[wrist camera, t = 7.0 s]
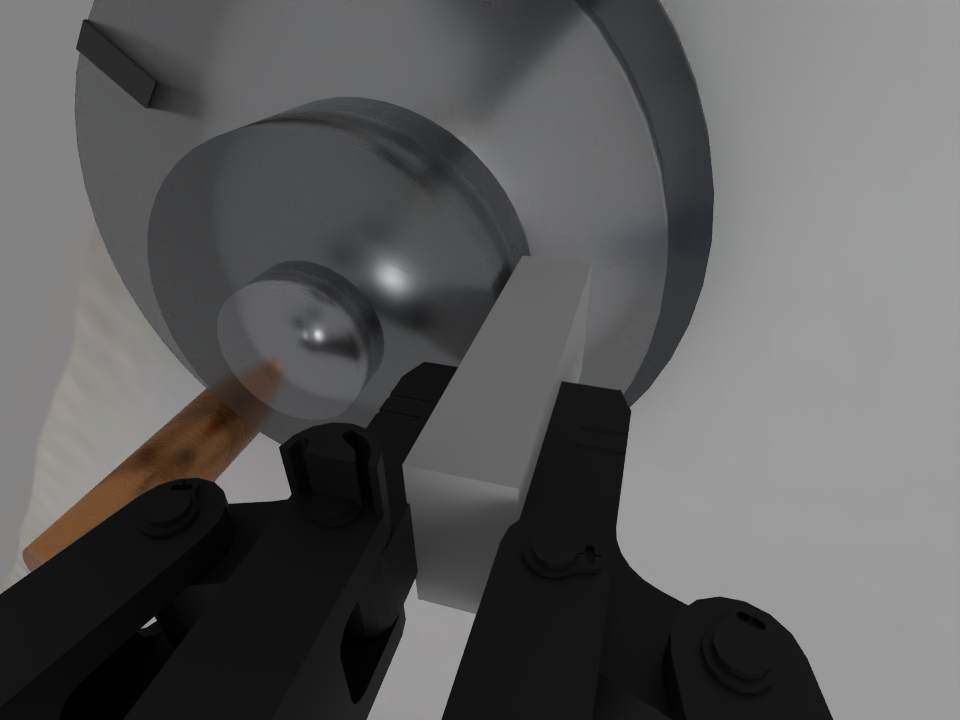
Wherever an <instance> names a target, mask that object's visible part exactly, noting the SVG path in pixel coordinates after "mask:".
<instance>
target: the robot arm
mask: <svg viewBox="0 0 960 720" xmlns="http://www.w3.org/2000/svg"><path fill="white" fill-rule="evenodd" d="M591 270H592V263H588V262H579V261H569V260H560V259H550V258H541V257H531V256H522V257H521V259H520V261H519V262H518V264H517V266H516V268H515V269H514V271H513V273H512V275H511V276H510V278H509V280H508V282H507V283H506V285H505V287H504V289H503V290H502V292H501V294H500V296H499V297H498V299H497V301H496V303H495V304H494V306H493V308H492V309H491V311H490V313H489V315H488V316H487V318H486V320H485V322H484V323H483V325H482V327H481V329H480V330H479V332H478V334H477V336H476V337H475V339H474V341H473V343H472V344H471V346H470V348H469V350H468V351H467V353H466V355H465V357H464V358H463V360H462V362H461V364H460V365H459V367H456V366H449V365H443V364H437V363H430V362H423V363H421V364H420V365H418V366H417V367H415V368H414V369H412V370H411V371H409V372H408V373H406V374H405V375H403V376H402V377H401V379H400V380H399V382H398V383H397V385H396V386H395V387H394V389H393V390H392V392H391V393H390V397H389V398H387V399H386V400H385V402H384V403H383V405H382V406H381V408H380V409H379V413H376V415H375V416H374V418H373V419H372V420H371V422H370V423H369V425H368V426H367V428H363V427H360V426H358V425H355V424H352V423H335V422H332V423H327V424H322V425H317V426H312V427H310V428H308V429H305V430H303V431H301V432H299V433H297V434H295V435H293V436H292V437H291V438H289V439H288V440H287V441H286V442H285V443H284V444H282V445H281V446H280V447H279V449H280V453H281V457H282V460H283V464H284V468H285V471H286V475H287V479H288V482H289V486H290V490H291V493H292V495H291V496H290V497H289V499H287V500H280V501H272V502H254V503H236V504H228V502H227V499H226V496H225V494H224V491H223V490H222V489H221V488H220V487H219V486H218V485H217V484H216V483H215V482H212V481H209V480H205V479H202V478H183V479H177V480H173V481H170V482H167V483H163V484H160V485H158V486H156V487H154V488H152V489H150V490H149V491H147V492H145V493H143V494H141V495H140V496H138V497H137V498H135V499H134V500H132V501H131V502H130V503H128V504H127V505H125V506H124V507H123V508H121V509H120V510H118V511H117V512H116V513H114V514H113V515H111V516H110V517H109V518H107V519H106V520H104V521H103V522H101V523H100V524H99V525H97V526H96V527H94V528H93V529H92V530H90V531H89V532H87V533H86V534H85V535H83V536H82V537H80V538H79V539H78V540H76V541H75V542H73V543H72V544H71V545H69V546H68V547H66V548H65V549H63V550H62V551H61V552H59V553H58V554H56V555H55V556H54V557H52V558H51V559H49V560H48V561H47V562H45V563H44V564H42V565H41V566H40V567H38V568H37V569H35V570H34V571H33V572H31V573H30V574H28V575H27V576H25V577H24V578H23V579H21V580H20V581H18V582H17V583H16V584H14V585H13V586H11V587H10V588H9V589H7V590H6V591H4V592H3V593H2V594H0V720H366V719H367V717H368V715H369V712H370V710H371V708H372V705H373V703H374V701H375V698H376V696H377V694H378V691H379V689H380V686H381V684H382V682H383V679H384V677H385V675H386V672H387V670H388V668H389V665H390V663H391V661H392V658H393V656H394V654H395V651H396V649H397V647H398V644H399V642H400V639H401V637H402V634H403V630H404V625H405V620H406V618H405V611H404V602H405V600H406V598H407V596H408V593H409V591H410V589H411V587H412V584H413V582H414V580H415V578H416V585H417V593H418V599H421V600H425V601H429V602H433V603H436V604H440V605H444V606H448V607H452V608H455V609H459V610H463V611H467V612H471V613H475V614H476V617H475V620H474V623H473V626H472V629H471V632H470V635H469V638H468V641H467V644H466V647H465V650H464V653H463V656H462V659H461V662H460V665H459V668H458V671H457V674H456V677H455V680H454V683H453V686H452V689H451V692H450V696H449V699H448V702H447V705H446V708H445V711H444V714H443V717H442V720H833V718H832V716H831V714H830V711H829V709H828V706H827V704H826V702H825V699H824V697H823V695H822V692H821V690H820V688H819V685H818V683H817V680H816V678H815V676H814V673H813V671H812V669H811V666H810V664H809V662H808V659H807V657H806V656H805V654H804V653H803V651H802V649H801V648H800V646H799V645H798V643H797V641H796V640H795V638H794V637H793V635H792V634H791V633H790V632H789V631H788V630H787V629H786V628H785V627H783V626H782V625H781V624H780V623H779V622H778V621H777V620H776V619H775V618H773V617H772V616H771V615H770V614H768V613H766V612H764V611H762V610H760V609H758V608H756V607H755V606H753V605H751V604H749V603H747V602H745V601H740V600H734V599H729V598H724V597H713V598H706V599H700V600H696V601H695V602H693V603H692V604H690V605H689V606H688V605H686V604H684V603H682V602H680V601H679V600H677V599H675V598H673V597H671V596H669V595H668V594H666V593H664V592H662V591H660V590H658V589H657V588H655V587H654V586H652V585H651V584H649V583H648V582H646V581H645V580H643V579H642V578H641V577H640V576H639V575H638V574H637V573H636V572H635V571H634V570H633V569H632V568H631V567H630V566H629V564H628V563H627V561H626V560H625V558H624V557H623V555H622V554H621V551H620V548H619V545H618V542H617V539H616V524H617V516H618V508H619V501H620V493H621V485H622V478H623V470H624V462H625V454H626V447H627V439H628V432H629V424H630V416H631V410H630V408H629V406H628V404H627V402H626V400H625V398H624V396H623V394H622V392H621V390H615V389H609V388H602V387H596V386H589V385H583V384H578V382H579V379H580V375H581V370H582V360H583V350H584V340H585V330H586V320H587V310H588V300H589V290H590V280H591ZM154 616H155V618H156V620H157V621H156V622H154V623H153V624H151V625H150V626H148V627H147V628H142V627H143V626H144V625H145V624H146V623H147V622H148V621H150V620H151V619H152V618H153V617H154ZM141 628H142V629H141Z"/></svg>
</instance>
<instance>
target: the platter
mask: <svg viewBox="0 0 960 720" xmlns="http://www.w3.org/2000/svg"><path fill="white" fill-rule="evenodd" d="M76 49H77V50H78V51H79V52H80V55H79V60H78V66H77V72H76V94H75V120H76V132H77V144H78V152H79V157H80V162H81V168H82V173H83V178H84V183H85V187H86V191H87V194H88V197H89V201H90V204H91V207H92V211H93V214H94V217H95V221H96V223H97V226H98V228H99V231H100V233H101V235H102V238H103V240H104V243H105V245H106V248H107V250H108V253H109V255H110V257H111V259H112V261H113V263H114V265H115V267H116V269H117V271H118V273H119V275H120V276H121V278H122V280H123V282H124V284H125V286H126V288H127V289H128V291H129V293H130V294H131V296H132V297H133V299H134V301H135V302H136V304H137V305H138V307H139V309H140V310H141V312H142V313H143V315H144V317H145V318H146V319H147V321H148V322H149V323H150V325H151V326H152V327H153V329H154V330H155V331H156V333H157V334H158V335H159V337H160V338H161V339H162V341H163V342H164V343H165V345H166V346H167V347H168V348H169V349H170V350H171V351H172V353H173V354H174V355H175V356H176V357H177V358H178V359H179V361H180V362H181V363H182V364H183V365H184V366H185V367H186V369H187V370H188V371H189V372H191V373H192V374H193V375H194V376H195V377H196V378H197V379H198V380H199V381H200V382H201V383H202V384H203V385H204V386H205V387H206V389H205V390H204V391H203V392H202V393H201V394H200V395H199V396H197V397H196V398H195V399H194V400H193V401H192V402H191V403H189V404H188V405H187V406H186V407H185V408H184V409H183V410H182V411H180V412H179V413H178V414H177V415H176V416H175V417H174V418H172V419H171V420H170V421H169V422H168V423H167V424H166V425H165V426H163V427H162V428H161V429H160V430H159V431H158V432H157V433H155V434H154V435H153V436H152V437H151V438H150V439H149V440H148V441H146V442H145V443H144V444H143V445H142V446H141V447H140V448H139V449H137V450H136V451H135V452H134V453H133V454H132V455H131V456H129V457H128V458H127V459H126V460H125V461H124V462H123V463H122V464H120V465H119V466H118V467H117V468H116V469H115V470H114V471H112V472H111V473H110V474H109V475H108V476H107V477H106V478H105V479H103V480H102V481H101V482H100V483H99V484H98V485H97V486H95V487H94V488H93V489H92V490H91V491H90V492H89V493H88V494H86V495H85V496H84V497H83V498H82V499H81V500H80V501H78V502H77V503H76V504H75V505H74V506H73V507H72V508H71V509H69V510H68V511H67V512H66V513H65V514H64V515H63V516H61V517H60V518H59V519H58V520H57V521H56V522H55V523H54V524H52V525H51V526H50V527H49V528H48V529H47V530H46V531H45V532H43V533H42V534H41V535H40V536H39V537H38V538H37V539H35V540H34V541H33V542H32V543H31V544H30V545H29V546H28V547H26V548H25V549H24V551H23V560H24V562H25V564H26V566H27V567H28V568H29V570H30V571H31V572H33V571H34V570H35V569H37V568H38V567H40V566H41V565H42V564H44V563H45V562H47V561H48V560H49V559H51V558H52V557H54V556H55V555H56V554H58V553H59V552H61V551H62V550H63V549H65V548H66V547H68V546H69V545H71V544H72V543H73V542H75V541H76V540H78V539H79V538H80V537H82V536H83V535H85V534H86V533H87V532H89V531H90V530H92V529H93V528H94V527H96V526H97V525H99V524H100V523H101V522H103V521H104V520H106V519H107V518H109V517H110V516H111V515H113V514H114V513H116V512H117V511H118V510H120V509H121V508H123V507H124V506H125V505H127V504H128V503H130V502H131V501H132V500H134V499H135V498H137V497H138V496H140V495H141V494H143V493H145V492H147V491H149V490H150V489H152V488H154V487H156V486H158V485H160V484H163V483H167V482H170V481H173V480H177V479H183V478H202V479H205V480H209V481H212V482H215V480H216V479H217V478H218V477H219V476H220V475H221V474H222V473H223V472H224V471H225V470H226V468H227V467H228V466H229V465H230V464H231V463H232V462H233V461H234V460H235V459H236V457H237V456H238V455H239V454H240V453H241V452H242V451H243V450H244V449H245V448H246V447H247V445H248V444H249V443H250V442H251V441H252V440H253V439H254V438H255V437H256V436H257V434H258V433H259V432H260V431H258V430H257V429H256V428H254V427H253V426H251V425H250V424H249V423H247V422H246V421H245V420H243V419H242V418H241V417H240V416H239V415H237V414H236V413H235V412H234V411H233V410H231V409H230V408H229V407H228V406H227V405H226V404H225V403H224V402H223V401H222V400H221V399H220V398H219V397H218V396H217V395H216V394H215V393H214V392H213V391H212V390H211V389H210V388H209V387H208V386H207V385H206V383H205V382H204V381H203V380H202V379H201V378H200V377H199V375H198V374H197V373H196V371H195V370H194V369H193V367H192V366H191V365H190V363H189V362H188V361H187V359H186V358H185V356H184V355H183V353H182V351H181V350H180V348H179V347H178V345H177V343H176V342H175V340H174V338H173V336H172V334H171V332H170V330H169V328H168V326H167V324H166V322H165V320H164V318H163V316H162V313H161V310H160V308H159V305H158V302H157V300H156V297H155V293H154V289H153V285H152V281H151V278H150V271H149V264H148V257H147V234H148V226H149V219H150V214H151V210H152V207H153V204H154V200H155V197H156V195H157V193H158V191H159V189H160V187H161V185H162V183H163V181H164V179H165V177H166V176H167V175H168V174H169V172H170V171H171V170H172V168H173V167H174V166H175V165H176V163H177V162H178V161H179V160H180V159H182V158H183V157H184V156H185V155H186V154H187V153H189V152H190V151H191V150H192V149H193V148H195V147H197V146H198V145H200V144H202V143H204V142H206V141H207V140H209V139H211V138H213V137H216V136H218V135H221V134H224V133H227V132H229V131H232V130H235V129H237V128H240V127H243V126H246V125H248V124H251V123H254V122H256V121H259V120H262V119H265V118H267V117H270V116H273V115H276V114H278V113H281V112H284V111H286V110H289V109H292V108H295V107H297V106H300V105H303V104H307V103H310V102H313V101H316V100H321V99H328V98H334V97H362V98H368V99H374V100H380V101H385V102H388V103H391V104H394V105H397V106H400V107H404V108H407V109H409V110H411V111H413V112H415V113H417V114H419V115H422V116H424V117H426V118H428V119H430V120H431V121H433V122H435V123H436V124H438V125H439V126H441V127H442V128H444V129H445V130H447V131H449V132H450V133H452V134H453V135H454V136H455V137H456V138H458V139H459V140H460V141H461V142H462V143H464V144H465V145H466V146H467V147H468V148H470V149H471V150H472V151H473V152H474V153H475V155H476V156H477V157H478V158H479V159H480V160H481V161H482V162H483V163H484V164H485V165H486V166H487V167H488V168H489V170H490V171H491V172H492V174H493V175H494V177H495V178H496V179H497V181H498V182H499V183H500V185H501V186H502V187H503V189H504V190H505V192H506V194H507V196H508V198H509V199H510V201H511V203H512V205H513V207H514V208H515V210H516V212H517V215H518V217H519V220H520V222H521V225H522V227H523V230H524V232H525V236H526V239H527V243H528V247H529V251H530V254H531V257H541V258H550V259H560V260H569V261H579V262H588V263H592V270H591V280H590V290H589V300H588V310H587V320H586V330H585V340H584V350H583V360H582V370H581V375H580V379H579V382H578V384H583V385H589V386H596V387H602V388H609V389H615V390H621V392H622V394H624V393H625V392H626V390H627V389H628V387H629V386H630V384H631V383H632V381H633V379H634V377H635V375H636V373H637V371H638V369H639V367H640V365H641V363H642V361H643V359H644V357H645V355H646V353H647V351H648V349H649V346H650V343H651V339H652V336H653V333H654V330H655V327H656V324H657V320H658V317H659V314H660V309H661V302H662V296H663V290H664V283H665V277H666V269H667V255H668V196H667V189H666V182H665V174H664V167H663V159H662V155H661V152H660V148H659V145H658V141H657V137H656V134H655V130H654V127H653V123H652V120H651V116H650V112H649V110H648V108H647V106H646V103H645V101H644V99H643V96H642V94H641V92H640V89H639V87H638V85H637V82H636V80H635V78H634V76H633V73H632V71H631V69H630V66H629V65H628V63H627V61H626V60H625V58H624V57H623V55H622V53H621V52H620V50H619V48H618V47H617V45H616V43H615V42H614V40H613V38H612V37H611V35H610V33H609V32H608V30H607V29H606V27H605V25H604V24H603V22H602V21H601V19H600V18H599V17H598V16H597V15H596V13H595V12H594V11H593V10H592V8H591V7H590V6H589V5H588V4H587V2H586V1H585V0H95V1H94V3H93V6H92V9H91V12H90V15H89V18H88V20H87V19H86V20H83V24H82V27H81V31H80V35H79V39H78V43H77V47H76Z"/></svg>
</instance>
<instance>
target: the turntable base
mask: <svg viewBox="0 0 960 720" xmlns="http://www.w3.org/2000/svg"><path fill="white" fill-rule="evenodd" d="M585 1H586V2H587V4H588V5H589V6H590V7H591V8H592V10H593V11H594V12H595V13H596V15H597V16H598V17H599V18H600V19H601V21H602V22H603V24H604V25H605V27H606V29H607V30H608V32H609V33H610V35H611V37H612V38H613V40H614V42H615V43H616V45H617V47H618V48H619V50H620V52H621V53H622V55H623V57H624V58H625V60H626V61H627V63H628V65H629V66H630V69H631V71H632V73H633V76H634V78H635V80H636V82H637V85H638V87H639V89H640V92H641V94H642V96H643V99H644V101H645V103H646V106H647V108H648V110H649V112H650V116H651V120H652V123H653V127H654V130H655V134H656V137H657V141H658V145H659V148H660V152H661V155H662V159H663V167H664V174H665V182H666V189H667V196H668V255H667V269H666V277H665V283H664V290H663V296H662V302H661V309H660V314H659V317H658V320H657V324H656V327H655V330H654V333H653V336H652V339H651V343H650V346H649V349H648V351H647V353H646V355H645V357H644V359H643V361H642V363H641V365H640V367H639V369H638V371H637V373H636V375H635V377H634V379H633V381H632V383H631V384H630V386H629V387H628V389H627V390H626V392H625V393H624V394H623V396H624V398H625V400H626V402H627V404H628V406H629V408H630V407H631V406H632V405H633V404H634V403H635V402H636V401H637V400H638V399H639V398H640V397H641V396H642V395H643V394H644V393H645V392H646V391H647V390H648V389H649V387H650V386H651V385H652V383H653V382H654V381H655V379H656V378H657V377H658V375H659V374H660V373H661V371H662V370H663V369H664V367H665V366H666V364H667V363H668V362H669V360H670V359H671V357H672V355H673V354H674V352H675V350H676V348H677V346H678V344H679V342H680V340H681V339H682V337H683V335H684V333H685V331H686V329H687V327H688V325H689V323H690V320H691V318H692V315H693V312H694V309H695V306H696V303H697V301H698V298H699V295H700V292H701V289H702V287H703V283H704V278H705V272H706V267H707V262H708V257H709V252H710V247H711V242H712V224H713V203H714V188H713V178H712V167H711V157H710V146H709V137H708V129H707V125H706V121H705V117H704V113H703V108H702V104H701V100H700V96H699V92H698V88H697V83H696V79H695V77H694V74H693V72H692V69H691V67H690V64H689V62H688V59H687V57H686V54H685V52H684V49H683V47H682V44H681V42H680V39H679V36H678V34H677V31H676V29H675V27H674V26H673V24H672V22H671V20H670V19H669V17H668V15H667V13H666V12H665V10H664V8H663V6H662V5H661V3H660V1H659V0H585Z"/></svg>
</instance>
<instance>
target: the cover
mask: <svg viewBox="0 0 960 720" xmlns="http://www.w3.org/2000/svg"><path fill="white" fill-rule="evenodd" d="M522 256H531V254H530V251H529V247H528V243H527V239H526V236H525V232H524V230H523V227H522V225H521V222H520V220H519V217H518V215H517V212H516V210H515V208H514V207H513V205H512V203H511V201H510V199H509V198H508V196H507V194H506V192H505V190H504V189H503V187H502V186H501V185H500V183H499V182H498V181H497V179H496V178H495V177H494V175H493V174H492V172H491V171H490V170H489V168H488V167H487V166H486V165H485V164H484V163H483V162H482V161H481V160H480V159H479V158H478V157H477V156H476V155H475V153H474V152H473V151H472V150H471V149H470V148H468V147H467V146H466V145H465V144H464V143H462V142H461V141H460V140H459V139H458V138H456V137H455V136H454V135H453V134H452V133H450V132H449V131H447V130H445V129H444V128H442V127H441V126H439V125H438V124H436V123H435V122H433V121H431V120H430V119H428V118H426V117H424V116H422V115H419V114H417V113H415V112H413V111H411V110H409V109H407V108H404V107H400V106H397V105H394V104H391V103H388V102H385V101H380V100H374V99H368V98H362V97H334V98H328V99H321V100H316V101H313V102H310V103H307V104H303V105H300V106H297V107H295V108H292V109H289V110H286V111H284V112H281V113H278V114H276V115H273V116H270V117H267V118H265V119H262V120H259V121H256V122H254V123H251V124H248V125H246V126H243V127H240V128H237V129H235V130H232V131H229V132H227V133H224V134H221V135H218V136H216V137H213V138H211V139H209V140H207V141H206V142H204V143H202V144H200V145H198V146H197V147H195V148H193V149H192V150H191V151H190V152H189V153H187V154H186V155H185V156H184V157H183V158H182V159H180V160H179V161H178V162H177V163H176V165H175V166H174V167H173V168H172V170H171V171H170V172H169V174H168V175H167V176H166V177H165V179H164V181H163V183H162V185H161V187H160V189H159V191H158V193H157V195H156V197H155V200H154V204H153V207H152V210H151V214H150V219H149V226H148V234H147V257H148V264H149V271H150V278H151V281H152V285H153V289H154V293H155V297H156V300H157V302H158V305H159V308H160V310H161V313H162V316H163V318H164V320H165V322H166V324H167V326H168V328H169V330H170V332H171V334H172V336H173V338H174V340H175V342H176V343H177V345H178V347H179V348H180V350H181V351H182V353H183V355H184V356H185V358H186V359H187V361H188V362H189V363H190V365H191V366H192V367H193V369H194V370H195V371H196V373H197V374H198V375H199V377H200V378H201V379H202V380H203V381H204V382H205V383H206V385H207V386H208V387H209V388H210V389H211V390H212V391H213V392H214V393H215V394H216V395H217V396H218V397H219V398H220V399H221V400H222V401H223V402H224V403H225V404H226V405H227V406H228V407H229V408H230V409H231V410H233V411H234V412H235V413H236V414H237V415H239V416H240V417H241V418H242V419H243V420H245V421H246V422H247V423H249V424H250V425H251V426H253V427H254V428H256V429H257V430H258V431H260V432H261V433H263V434H264V435H266V436H268V437H269V438H271V439H273V440H274V441H276V442H278V443H279V444H281V445H282V444H284V443H285V442H286V441H287V440H288V439H289V438H291V437H292V436H293V435H295V434H297V433H299V432H301V431H303V430H305V429H308V428H310V427H312V426H317V425H322V424H327V423H332V422H335V423H352V424H355V425H358V426H360V427H363V428H367V426H368V425H369V423H370V422H371V420H372V419H373V418H374V416H375V415H376V413H379V409H380V408H381V406H382V405H383V403H384V402H385V400H386V399H387V398H389V397H390V393H391V392H392V390H393V389H394V387H395V386H396V385H397V383H398V382H399V380H400V379H401V377H402V376H403V375H405V374H406V373H408V372H409V371H411V370H412V369H414V368H415V367H417V366H418V365H420V364H421V363H423V362H430V363H437V364H443V365H449V366H456V367H459V365H460V364H461V362H462V360H463V358H464V357H465V355H466V353H467V351H468V350H469V348H470V346H471V344H472V343H473V341H474V339H475V337H476V336H477V334H478V332H479V330H480V329H481V327H482V325H483V323H484V322H485V320H486V318H487V316H488V315H489V313H490V311H491V309H492V308H493V306H494V304H495V303H496V301H497V299H498V297H499V296H500V294H501V292H502V290H503V289H504V287H505V285H506V283H507V282H508V280H509V278H510V276H511V275H512V273H513V271H514V269H515V268H516V266H517V264H518V262H519V261H520V259H521V257H522Z"/></svg>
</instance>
